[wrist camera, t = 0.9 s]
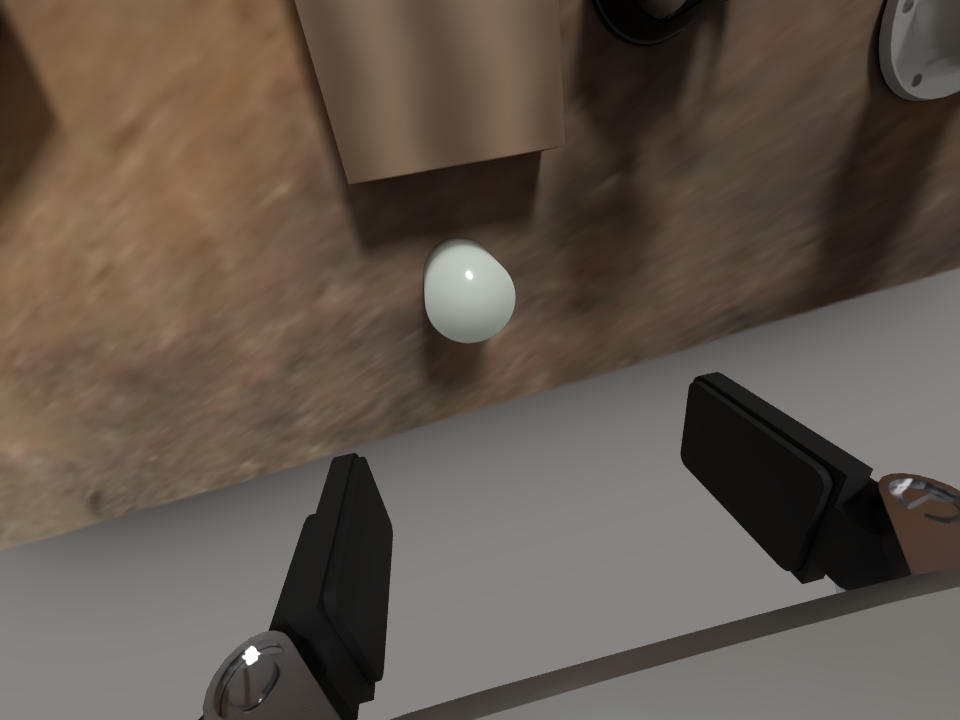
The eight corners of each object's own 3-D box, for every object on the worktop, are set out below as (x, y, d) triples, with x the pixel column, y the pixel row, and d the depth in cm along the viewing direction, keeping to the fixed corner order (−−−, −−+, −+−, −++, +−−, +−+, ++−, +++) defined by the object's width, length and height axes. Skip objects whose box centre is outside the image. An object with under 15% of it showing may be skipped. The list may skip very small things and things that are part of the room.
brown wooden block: (519, -170, 21) (546, -266, 16) (541, 151, 28) (565, 145, 24) (269, -140, 20) (226, -232, 15) (360, 183, 27) (348, 184, 23)
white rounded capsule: (487, 230, 30) (509, 246, 23) (497, 300, 33) (519, 333, 26) (415, 244, 30) (415, 264, 23) (431, 313, 32) (435, 351, 25)
